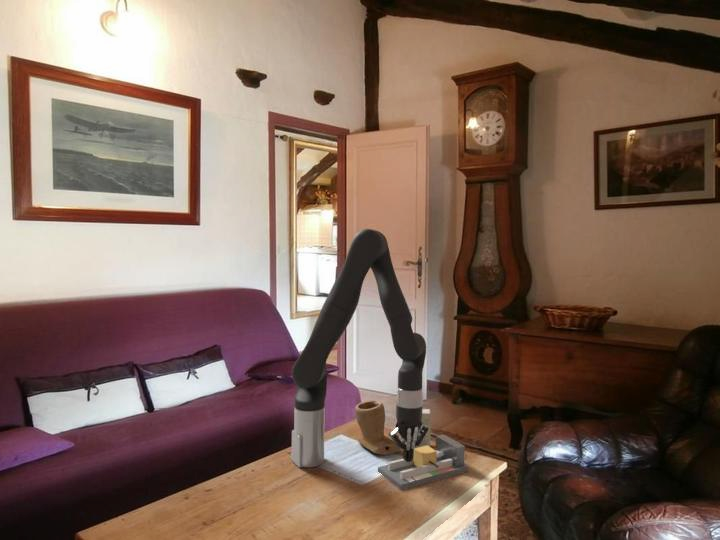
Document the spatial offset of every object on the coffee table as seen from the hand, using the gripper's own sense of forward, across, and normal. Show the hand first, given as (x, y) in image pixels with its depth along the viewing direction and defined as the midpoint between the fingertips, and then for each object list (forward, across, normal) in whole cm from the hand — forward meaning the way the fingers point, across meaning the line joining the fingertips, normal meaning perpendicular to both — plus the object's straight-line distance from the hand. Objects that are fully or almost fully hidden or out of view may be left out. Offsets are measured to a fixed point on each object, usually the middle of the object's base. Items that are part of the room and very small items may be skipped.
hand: (407, 460), depth 152 cm
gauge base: (+4, -5, 0) cm, 7 cm away
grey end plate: (+3, -15, 0) cm, 16 cm away
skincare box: (+5, -16, -15) cm, 22 cm away
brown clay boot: (+5, -2, -21) cm, 21 cm away
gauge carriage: (+3, -8, +2) cm, 9 cm away
